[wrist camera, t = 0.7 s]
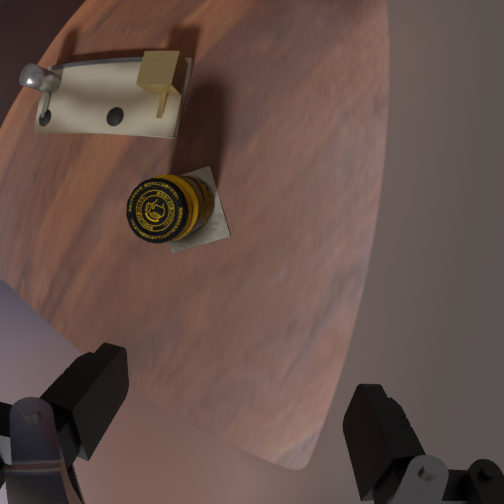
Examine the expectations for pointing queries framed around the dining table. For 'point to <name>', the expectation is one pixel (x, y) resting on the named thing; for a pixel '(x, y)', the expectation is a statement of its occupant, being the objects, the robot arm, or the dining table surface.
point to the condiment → (178, 210)
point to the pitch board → (108, 101)
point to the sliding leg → (162, 74)
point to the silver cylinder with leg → (40, 81)
